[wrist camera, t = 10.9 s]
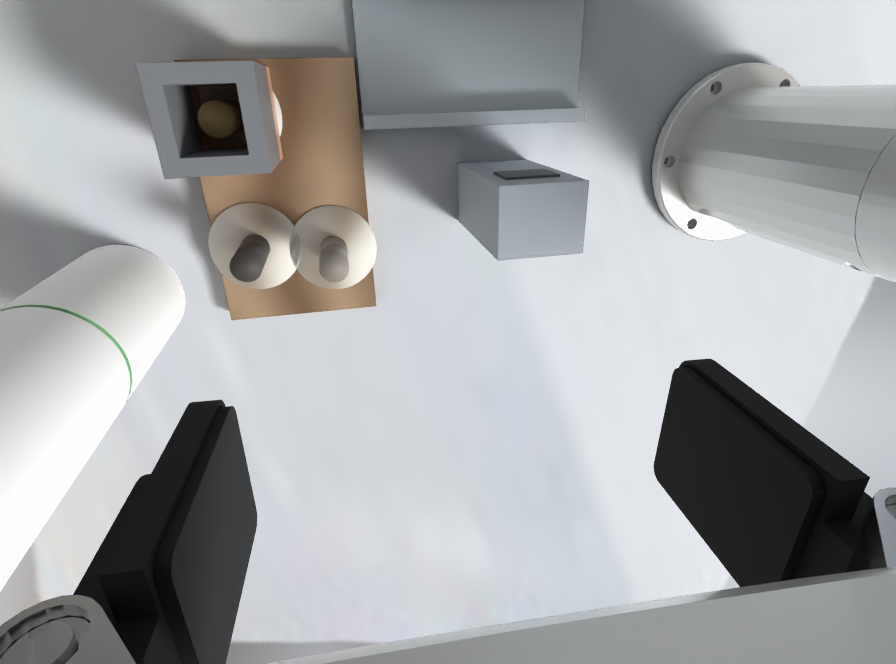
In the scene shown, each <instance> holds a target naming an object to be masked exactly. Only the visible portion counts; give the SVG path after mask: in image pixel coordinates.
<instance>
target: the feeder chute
mask: <svg viewBox="0 0 896 664" xmlns="http://www.w3.org/2000/svg"><path fill="white" fill-rule="evenodd" d="M584 5H585V0H352V8H353V19H354V31H355V42H356V53H357V65H358V76H359V87H360V99H361V110H362V121H363V128H364V129H365V130H374V129H399V128H424V127H449V126H475V125H500V124H525V123H550V122H575V121H585V113H586V108H577V99H578V86H579V72H580V59H581V45H582V32H583V19H584Z"/></svg>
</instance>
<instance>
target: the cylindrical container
mask: <svg viewBox="0 0 896 664" xmlns="http://www.w3.org/2000/svg"><path fill="white" fill-rule="evenodd" d="M184 310H185V294H184V289H183V287H182V284H181V282H180V280H179V278H178V277H177V275H176V274H175V272H174V271H173V270H172V269H171V268H170V267H169V266H168V265H167V263H165V262H164V261H163V260H161V259H160V258H159V257H157V256H155V255H154V254H152V253H150V252H148V251H146V250H143V249H140V248H137V247H134V246H127V245H106V246H101V247H97V248H95V249H92V250H90V251H88V252H86V253H85V254H83V255H82V256H80V257H79V258H77V259H76V260H74V261H73V262H71V263H69V264H68V265H66V266H65V267H63V268H62V269H60V270H59V271H57V272H56V273H54V274H52V275H51V276H49V277H48V278H46V279H45V280H43V281H42V282H40V283H39V284H37V285H36V286H34V287H32V288H31V289H29V290H28V291H26V292H25V293H23V294H22V295H20V296H19V297H17V298H15V299H14V300H12V301H11V302H9V303H8V304H6V305H5V306H3V307H2V308H0V591H1V589H2V588H3V586H4V585H5V583H6V582H7V580H8V579H9V577H10V576H11V574H12V573H13V571H14V570H15V568H16V567H17V565H18V564H19V562H20V561H21V559H22V558H23V556H24V555H25V553H26V552H27V550H28V549H29V547H30V546H31V544H32V543H33V541H34V540H35V538H36V537H37V535H38V534H39V532H40V531H41V529H42V528H43V526H44V525H45V523H46V522H47V520H48V519H49V517H50V516H51V514H52V513H53V511H54V510H55V508H56V507H57V505H58V504H59V502H60V501H61V499H62V498H63V496H64V495H65V493H66V492H67V490H68V489H69V487H70V486H71V484H72V483H73V481H74V480H75V478H76V477H77V475H78V474H79V472H80V471H81V469H82V468H83V466H84V465H85V463H86V462H87V460H88V459H89V457H90V456H91V454H92V453H93V451H94V450H95V448H96V447H97V445H98V444H99V442H100V441H101V439H102V438H103V436H104V435H105V433H106V432H107V430H108V429H109V427H110V426H111V424H112V423H113V421H114V420H115V418H116V417H117V415H118V414H119V412H120V411H121V409H122V408H123V406H124V405H125V403H126V402H127V400H128V399H129V397H130V396H131V394H132V393H133V391H134V390H135V388H136V387H137V385H138V384H139V382H140V381H141V379H142V378H143V376H144V375H145V373H146V372H147V370H148V369H149V367H150V366H151V364H152V363H153V361H154V360H155V358H156V357H157V355H158V354H159V352H160V351H161V349H162V348H163V346H164V345H165V343H166V342H167V340H168V339H169V337H170V336H171V334H172V333H173V331H174V330H175V328H176V327H177V325H178V324H179V322H180V320H181V319H182V317H183V313H184Z"/></svg>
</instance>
